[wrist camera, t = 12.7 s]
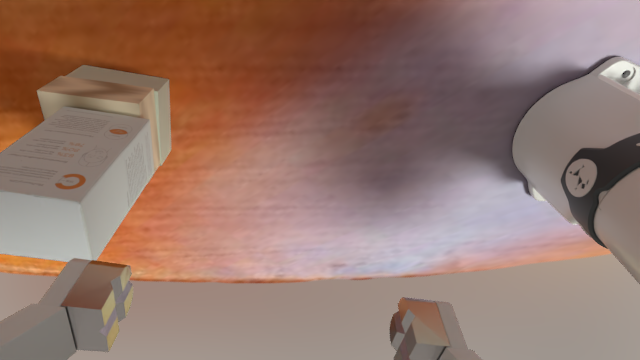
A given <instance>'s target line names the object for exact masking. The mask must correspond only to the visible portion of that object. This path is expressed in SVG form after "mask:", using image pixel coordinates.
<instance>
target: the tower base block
mask: <svg viewBox="0 0 640 360" xmlns="http://www.w3.org/2000/svg"><path fill="white" fill-rule="evenodd" d="M66 77H74V78H81V79H89V80H96V81H104V82H112V83H119V84H127V85H134V86H142V87H149V88H154V97H155V108H156V119H157V129H158V140H159V151H160V162H161V163H160V165H159V166H162V164H163V162H164V161H165V159H166V158H167V156H168V154H169V153H170V151H171V122H170V90H169V79H166V78H160V77H154V76H148V75H142V74H136V73H130V72H124V71H118V70H112V69H106V68H100V67H94V66H88V65H82V66H80V67H79V68H77V69H76V70H74V71H72V72H71V73H69V74H68V75H66Z"/></svg>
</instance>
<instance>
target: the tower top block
mask: <svg viewBox="0 0 640 360" xmlns="http://www.w3.org/2000/svg"><path fill="white" fill-rule="evenodd" d="M37 94H38V98H39V101H40V105H41V109H42V113H43V116H44V120H46V119H47V118H49V117H50V116H51V115H53V114H54V113H56V112H57V111H58V110H60V109H61V108H62V107H64V106H66V107H72V108H79V109H85V110H92V111H99V112H106V113H112V114H119V115H125V116H132V117H138V118H144V119H149V120H150V127H151V138H152V150H153V162H154V173H155V171H156V170H157V168H158V167H159V165H160V163H161V162H160V151H159V140H158V129H157V119H156V108H155V97H154V88H149V87H142V86H134V85H127V84H119V83H112V82H104V81H96V80H89V79H81V78H74V77H66V76H59V77H57V78H56V79H54V80H53V81H51V82H50V83H48V84H46V85H45V86H43V87H42V88H40V89H38V90H37ZM153 175H154V174H153ZM151 178H152V177H151ZM149 181H150V180H149ZM148 183H149V182H148Z"/></svg>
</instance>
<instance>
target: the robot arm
mask: <svg viewBox="0 0 640 360" xmlns="http://www.w3.org/2000/svg"><path fill="white" fill-rule="evenodd" d="M624 71H626V72H625V74H624V75H622V73H623V72H624ZM512 153H513V159H514V162H515V164H516V166H517V168H518V170H519V171H520V172H521V173H522V174H523V175H524V176H525V178H526V179H527V181H528V188H529V192H530V194H531V196H532V197H533V198H535V199H536V200H538V201H547V202H548V203H549V204H550V205H551V206H552V207H553V208H554V209H555V210H556V211H558V212H559V213H560V214H561V215H562V216H563V217H564V218H565V219H566V220H567V221H568V222H569V223H571V224H574V225H576V224H579V225H580V226H581V228H582V229H583V230H584V231H585V233H586V234H587V235H589V236H590V237H591V238H593V239H594V240H595V241H596V242H597V243H598V244H599V245H601V246H603V247H605V248H607V249H609V250H610V252H611V253H612V254H613V255H614V256H615V257H616V258H617V259H618V260H619V262H620V263H621V264H622V265H623V266H624V267H625V268H626V269H627V271H628V272H629V273H630V274H631V275H632V276H633V277H634V278H635V280H636V281H637V282H638V283H639V284H640V66H639V65H637V64H635V63H633V62H631V61H629V60H627V59H625V58H623V57H614V58H611V59H609V60H608V61H606V62H605V63H603V64H602V65H600V66H599V67H597V68H596V69H595V70H593V71H592V72H591V73H590V74H588V75H586V76H584V77H581V78H579V79H576V80H573V81H570V82H568V83H565V84H563V85H561V86H559V87H557V88H556V89H554V90H552V91H551V92H549V93H548V94H546V95H545V96H544V97H542V98H541V99H540V100H539V101H538V102H536V103H535V104H534V105H533V106H532V108H531V109H530V110H529V111H528V112H527V113H526V115H525V116H524V117H523V119H522V121H521V122H520V124H519V126H518V128H517V130H516V133H515V136H514V140H513V146H512ZM131 274H132V273H131V267H130V266H128V265H123V264H116V263H109V262H102V261H95V260H86V259H79V258H73V259H72V260H70V261H69V262H68V263H67V264H66V266H65V267H64V268H63V270H62V271H61V273H60V274H59V275H58V277H57V278H56V279H55V281H54V282H53V284H52V285H51V286H50V288H49V289H48V291H47V292H46V294H45V295H44V296H43V298H42V299H41V300H40V302H39V303H38V304H30V305H29V306H27V307H25V308H23V309H21V310H20V311H18V312H16V313H15V314H13V315H11V316H9V317H7V318H5V319H4V320H2V321H0V360H67V359H68V358H69V357H70V356H72V355H73V354H74V353H75V352H76V350H88V351H103V352H109V351H110V349H111V347H112V345H113V343H114V341H115V339H116V337H117V334H118V333H119V325H118V322H119V321H121V320H122V319H124V318H125V317H126V316H127V313H128V311H129V309H130V306H131V302H132V299H133V285H132V283H130V281H129V278H130V276H131ZM398 309H399V311H398V312H397V313H395V314H394V315H393V317H392V319H391V324H390V341H391V345H392V346H393V347H394V349H395V350H396V351H397V352H396V354H395V356H394V360H482V359H481V358H480V357H479V356H478V355H477V354H476V353H475V352H474V351H473V350H469V349H468V348H467V345H466V342H465V340H464V337H463V334H462V332H461V329H460V326H459V323H458V321H457V318H456V315H455V312H454V310H453V307H452V305H451V304H450V303H449V302H439V301H432V300H424V299H415V298H405V297H403V298H402V299H400V301H399V303H398Z"/></svg>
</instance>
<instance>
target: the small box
mask: <svg viewBox="0 0 640 360" xmlns="http://www.w3.org/2000/svg"><path fill="white" fill-rule="evenodd" d="M153 174H154V162H153V150H152V138H151V127H150V120H149V119H144V118H138V117H132V116H125V115H119V114H112V113H106V112H99V111H92V110H85V109H79V108H72V107H66V106H64V107H62V108H61V109H60V110H58V111H57V112H56V113H54V114H53V115H51V116H50V117H49V118H47V119H46V120H45V121H43V122H42V123H41V124H39V125H38V126H36V127H35V128H34V129H32V130H31V131H30V132H28V133H27V134H25V135H24V136H23V137H21V138H20V139H19V140H17V141H16V142H14V143H13V144H12V145H10V146H9V147H8V148H6V149H5V150H3V151H2V152H1V153H0V254H7V255H15V256H23V257H31V258H39V259H48V260H56V261H64V262H69V261H70V260H72V259H73V258H79V259H86V260H95V261H96V260H97V259H98V257H99V256H100V254H101V252H102V251H103V249H104V248H105V246H106V245H107V243H108V242H109V240H110V239H111V237H112V236H113V234H114V233H115V231H116V230H117V228H118V227H119V225H120V224H121V222H122V221H123V219H124V218H125V216H126V215H127V213H128V212H129V210H130V209H131V207H132V206H133V204H134V203H135V201H136V200H137V198H138V197H139V195H140V194H141V192H142V191H143V189H144V188H145V186H146V185H147V183H148V182H149V180H150V179H151V177H152V176H153Z"/></svg>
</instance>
